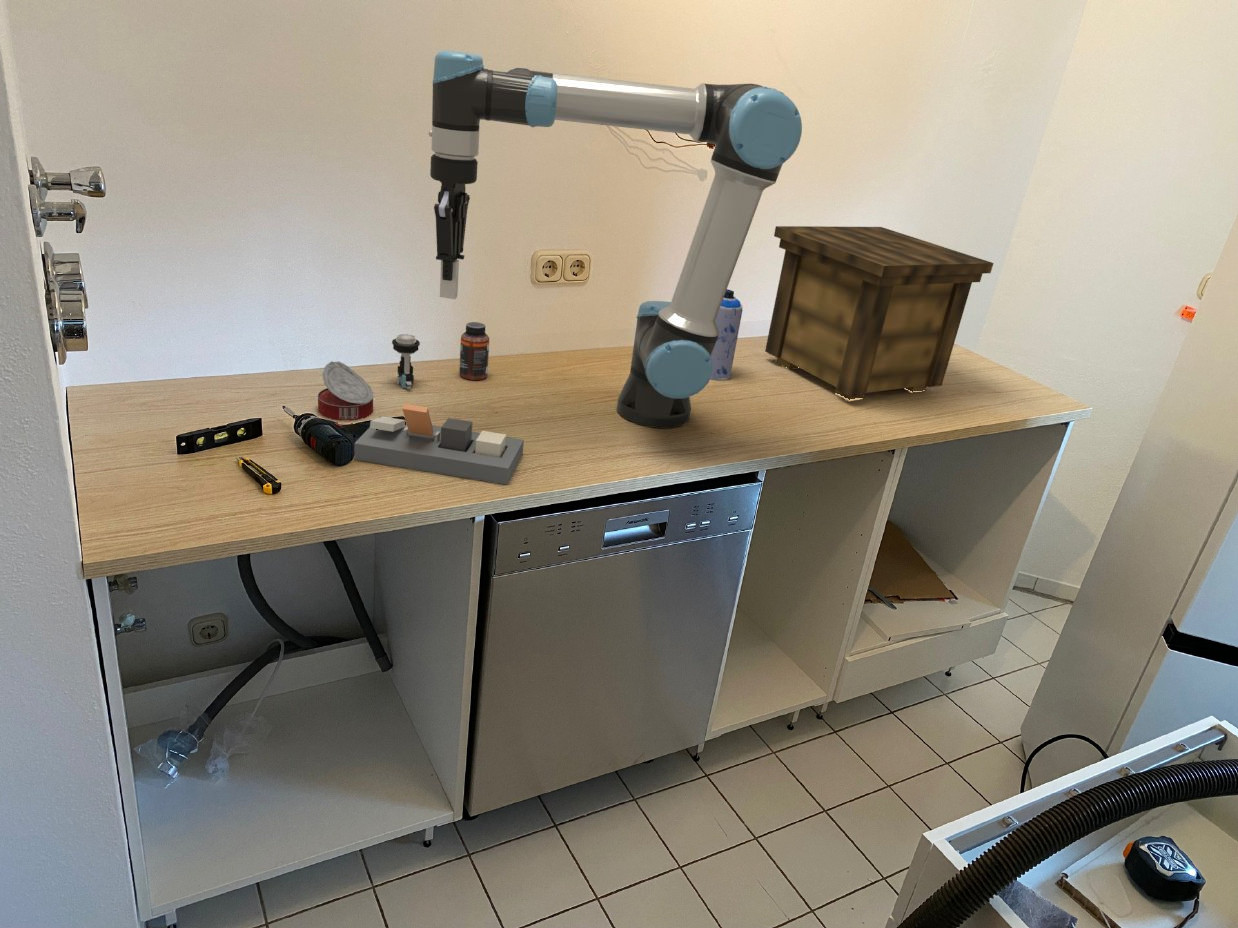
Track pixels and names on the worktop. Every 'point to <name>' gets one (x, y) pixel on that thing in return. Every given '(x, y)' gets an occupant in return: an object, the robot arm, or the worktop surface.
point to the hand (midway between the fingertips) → (448, 297)
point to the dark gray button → (456, 434)
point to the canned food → (344, 394)
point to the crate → (868, 307)
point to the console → (437, 455)
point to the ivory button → (490, 444)
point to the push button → (405, 358)
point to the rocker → (387, 424)
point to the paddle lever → (418, 421)
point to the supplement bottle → (474, 352)
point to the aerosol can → (726, 336)
